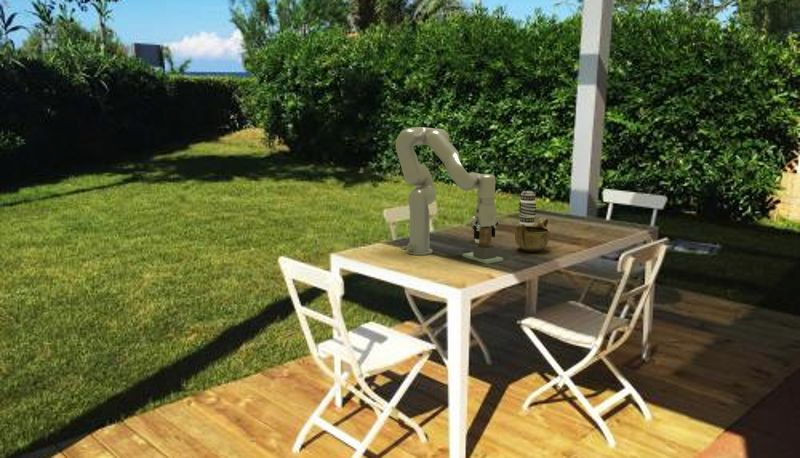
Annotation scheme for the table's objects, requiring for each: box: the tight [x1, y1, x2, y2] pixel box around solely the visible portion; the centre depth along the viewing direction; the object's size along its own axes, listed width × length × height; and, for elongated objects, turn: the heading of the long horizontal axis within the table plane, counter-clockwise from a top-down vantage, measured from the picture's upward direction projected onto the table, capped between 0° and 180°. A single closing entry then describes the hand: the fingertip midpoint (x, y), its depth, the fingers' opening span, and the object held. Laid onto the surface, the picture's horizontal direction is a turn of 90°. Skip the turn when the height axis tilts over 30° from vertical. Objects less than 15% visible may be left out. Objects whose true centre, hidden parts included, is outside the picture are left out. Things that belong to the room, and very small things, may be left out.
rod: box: [478, 226, 493, 248], centre depth 309 cm, size 4×4×14 cm
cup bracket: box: [462, 244, 504, 264], centre depth 311 cm, size 10×17×6 cm, turn 35°
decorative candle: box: [518, 190, 537, 226], centre depth 354 cm, size 9×9×25 cm
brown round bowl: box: [514, 217, 550, 253], centre depth 326 cm, size 22×17×15 cm
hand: (484, 237), depth 308 cm, fingers open, 9 cm apart
